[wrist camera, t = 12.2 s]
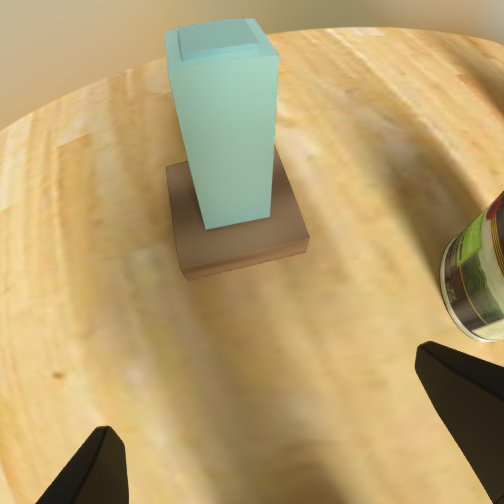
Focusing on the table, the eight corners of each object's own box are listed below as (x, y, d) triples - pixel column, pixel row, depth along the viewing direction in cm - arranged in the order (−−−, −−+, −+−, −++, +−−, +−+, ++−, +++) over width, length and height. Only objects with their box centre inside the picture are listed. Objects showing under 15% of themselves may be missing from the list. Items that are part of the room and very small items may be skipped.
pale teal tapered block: (269, 216, 23) (279, 48, 11) (205, 229, 22) (166, 64, 11) (255, 169, 24) (253, 12, 13) (197, 180, 24) (164, 25, 13)
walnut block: (304, 254, 25) (309, 237, 22) (189, 282, 24) (179, 268, 21) (273, 164, 28) (273, 142, 26) (174, 187, 28) (165, 166, 25)
